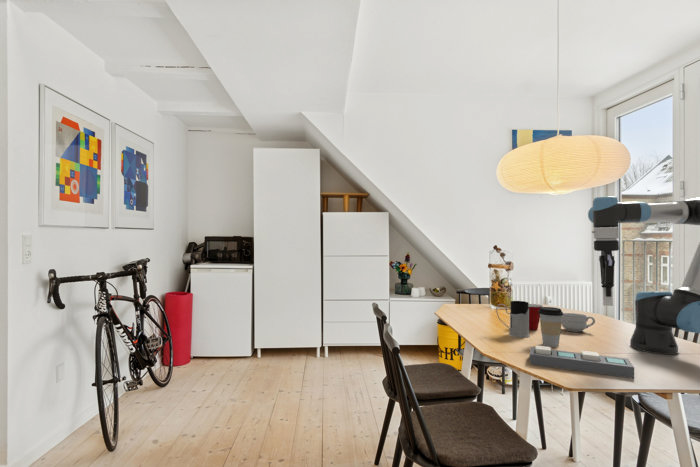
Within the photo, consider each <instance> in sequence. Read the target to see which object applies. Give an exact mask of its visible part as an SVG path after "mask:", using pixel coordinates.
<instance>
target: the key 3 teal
mask: <svg viewBox="0 0 700 467" xmlns="http://www.w3.org/2000/svg"><path fill="white" fill-rule="evenodd" d="M558 356H562V357H570V358H575V357H574V354H571V353H562V352H558Z"/></svg>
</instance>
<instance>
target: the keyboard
mask: <svg viewBox="0 0 700 467" xmlns="http://www.w3.org/2000/svg"><path fill="white" fill-rule="evenodd" d="M558 352H562V353H571V354H574V357H575V358H570V357H562V356H558ZM599 356H600V361H594V360H586V359H582V352H575V351H566V350H557V349H551V355H546V354H537V353H536V347H534V346H533V347H532V346H531V347H530V350H529V365H533V366H538V367H539V366H540V367H547V368H555V369H561V370H569V371H576V372H577V371H578V372H584V373H585V372H586V373H591V374H598V375H606V376H613V377H619V378H620V377H622V378H627V379H628V378H629V379H635V366H634V365H633V364H632V362H631V360H630V359H629V358H627V357H626V358H625V357H620V356H619V357H618V356H610V355H603V354H602V355H600V354H599ZM606 358H612V359H621V360H624V362H625V363H626V364H618V363H610V362H607V361H606Z"/></svg>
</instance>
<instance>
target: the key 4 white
mask: <svg viewBox="0 0 700 467" xmlns="http://www.w3.org/2000/svg"><path fill="white" fill-rule="evenodd" d="M535 348H536V353H537V354H546V355H551V350H552V347H549V346H545V345H537V344H536V345H535Z"/></svg>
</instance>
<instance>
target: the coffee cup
mask: <svg viewBox="0 0 700 467" xmlns="http://www.w3.org/2000/svg"><path fill="white" fill-rule="evenodd" d="M538 313H539V314H540V320H539V324H540V325H539V326H540V332H541V337H542V339H541V340H542V346H546V347H551V348H557V347H560V337H561V331H562V315H564V314H563V313H564V312H563V311H562V308H559V307H555V306H554V307H552V306H543V307H541V308H540V310H538Z"/></svg>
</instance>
